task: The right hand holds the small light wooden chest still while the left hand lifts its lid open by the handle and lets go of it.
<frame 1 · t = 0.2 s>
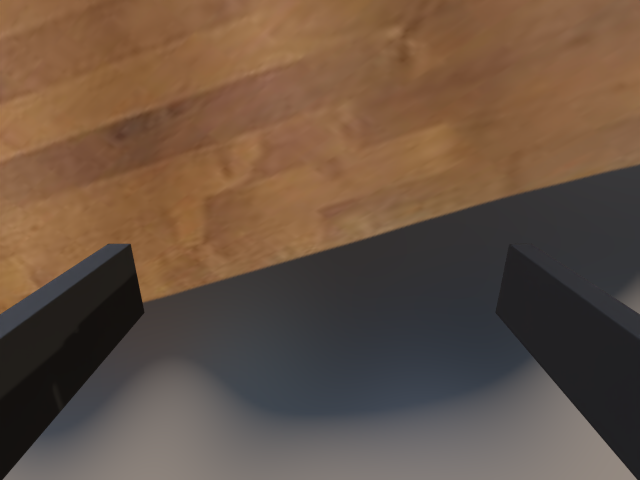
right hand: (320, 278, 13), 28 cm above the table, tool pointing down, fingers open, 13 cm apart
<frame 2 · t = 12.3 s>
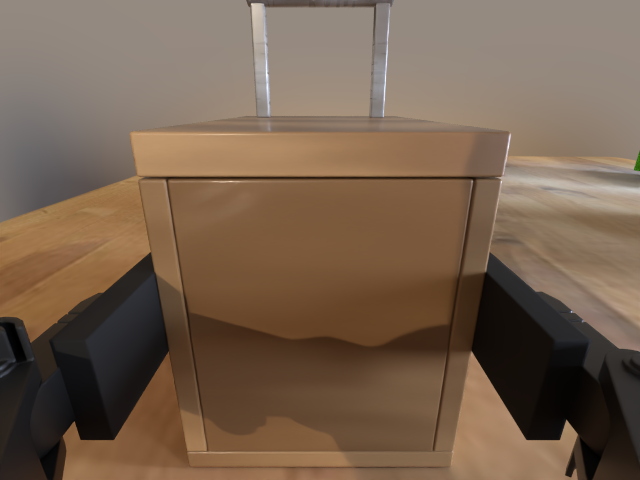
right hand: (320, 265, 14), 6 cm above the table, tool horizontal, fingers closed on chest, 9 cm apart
lid: (320, 43, 15), point 15 cm above the table, hinge at 0.0°
chest: (320, 343, 19), on the table, touching right hand
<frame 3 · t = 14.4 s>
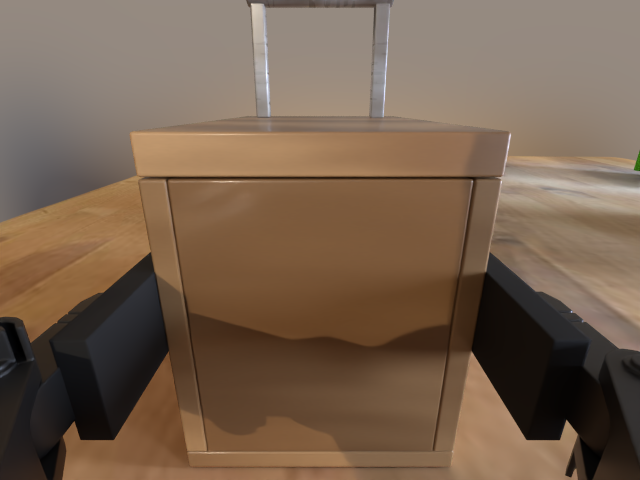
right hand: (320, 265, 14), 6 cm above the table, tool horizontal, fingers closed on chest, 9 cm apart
lid: (320, 43, 15), point 15 cm above the table, hinge at -0.1°, touching left hand
chest: (320, 343, 19), on the table, touching right hand
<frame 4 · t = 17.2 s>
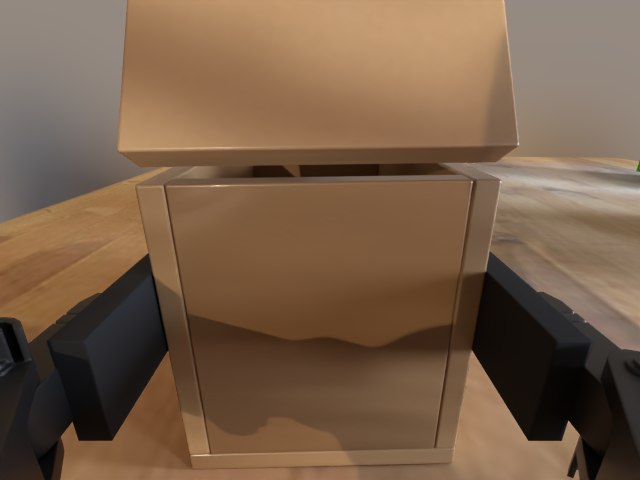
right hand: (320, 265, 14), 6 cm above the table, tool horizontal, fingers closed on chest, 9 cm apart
chest: (319, 341, 19), on the table, touching right hand
when the right hand's fingers open (6 cm above the table, at t = 21.5 s): chest stays where it is, on the table.
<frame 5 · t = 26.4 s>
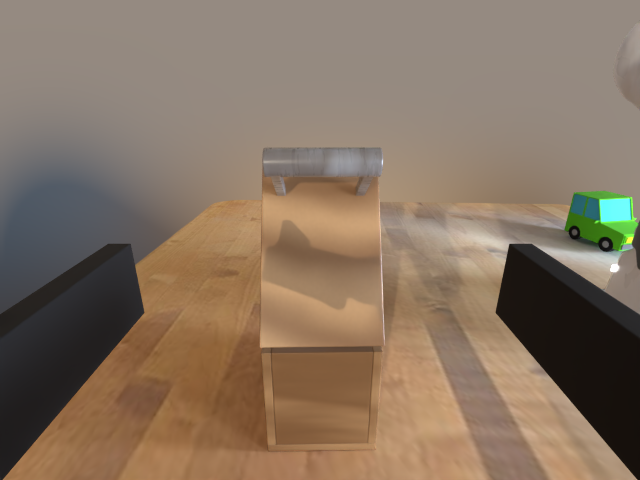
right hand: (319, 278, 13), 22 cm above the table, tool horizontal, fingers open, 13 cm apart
lid: (322, 242, 25), point 19 cm above the table, hinge at 60.1°
toy car: (604, 245, 77), on the table
chest: (320, 389, 38), on the table
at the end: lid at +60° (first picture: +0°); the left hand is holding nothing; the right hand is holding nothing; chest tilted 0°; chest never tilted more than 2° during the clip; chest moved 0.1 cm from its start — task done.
